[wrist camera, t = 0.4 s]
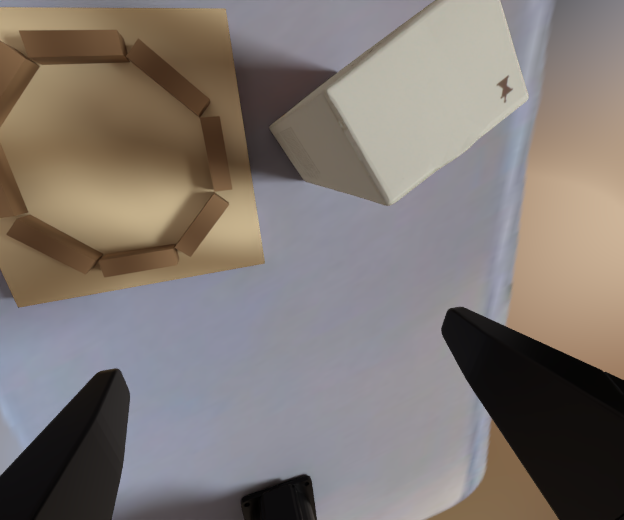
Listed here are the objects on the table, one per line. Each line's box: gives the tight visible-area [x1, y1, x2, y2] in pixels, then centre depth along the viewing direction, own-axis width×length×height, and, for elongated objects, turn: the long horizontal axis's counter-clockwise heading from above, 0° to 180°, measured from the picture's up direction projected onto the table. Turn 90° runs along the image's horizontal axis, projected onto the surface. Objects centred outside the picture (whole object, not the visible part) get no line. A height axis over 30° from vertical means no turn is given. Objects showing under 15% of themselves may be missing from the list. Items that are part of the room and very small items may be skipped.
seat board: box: [0, 7, 265, 308], centre depth 17 cm, size 14×14×2 cm
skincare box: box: [269, 0, 529, 206], centre depth 15 cm, size 6×4×12 cm
